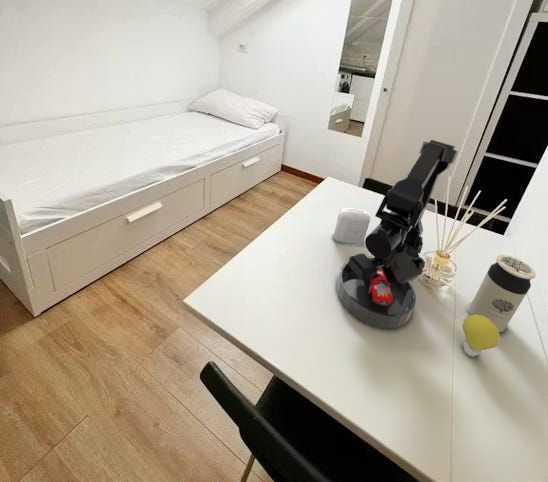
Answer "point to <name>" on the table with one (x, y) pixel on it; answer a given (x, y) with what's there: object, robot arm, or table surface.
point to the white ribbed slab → (351, 226)
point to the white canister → (502, 290)
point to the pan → (367, 310)
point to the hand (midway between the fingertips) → (376, 284)
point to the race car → (380, 290)
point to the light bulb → (479, 334)
